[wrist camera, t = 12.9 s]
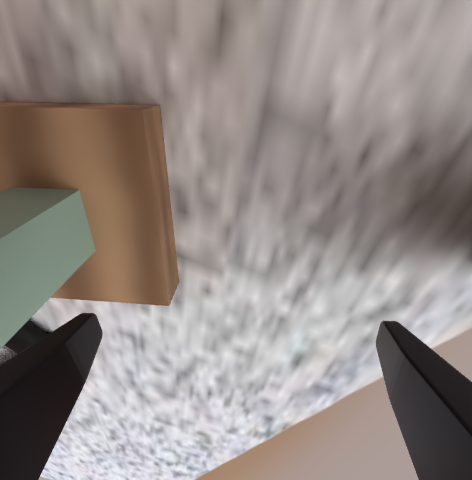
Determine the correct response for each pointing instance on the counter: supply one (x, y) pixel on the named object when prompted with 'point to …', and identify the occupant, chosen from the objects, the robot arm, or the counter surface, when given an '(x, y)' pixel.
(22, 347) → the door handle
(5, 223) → the green post
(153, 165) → the walnut base
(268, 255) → the counter surface
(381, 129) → the counter surface
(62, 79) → the counter surface
